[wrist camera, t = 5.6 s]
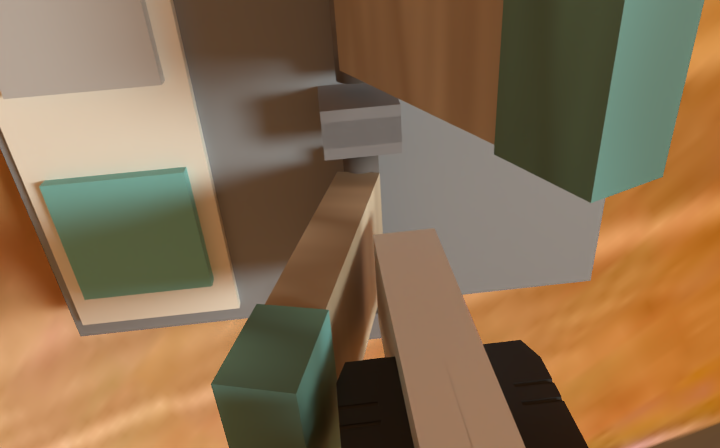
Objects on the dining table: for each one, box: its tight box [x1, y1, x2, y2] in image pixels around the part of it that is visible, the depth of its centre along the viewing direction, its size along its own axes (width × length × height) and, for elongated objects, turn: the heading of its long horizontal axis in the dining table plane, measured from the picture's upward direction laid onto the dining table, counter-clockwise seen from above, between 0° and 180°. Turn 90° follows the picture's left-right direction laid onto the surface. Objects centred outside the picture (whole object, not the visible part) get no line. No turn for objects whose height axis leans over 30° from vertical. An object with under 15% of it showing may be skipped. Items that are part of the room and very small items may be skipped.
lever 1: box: [211, 155, 383, 448], centre depth 13 cm, size 1×4×9 cm, turn 4°
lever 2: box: [329, 0, 704, 203], centre depth 10 cm, size 1×4×9 cm, turn 4°
